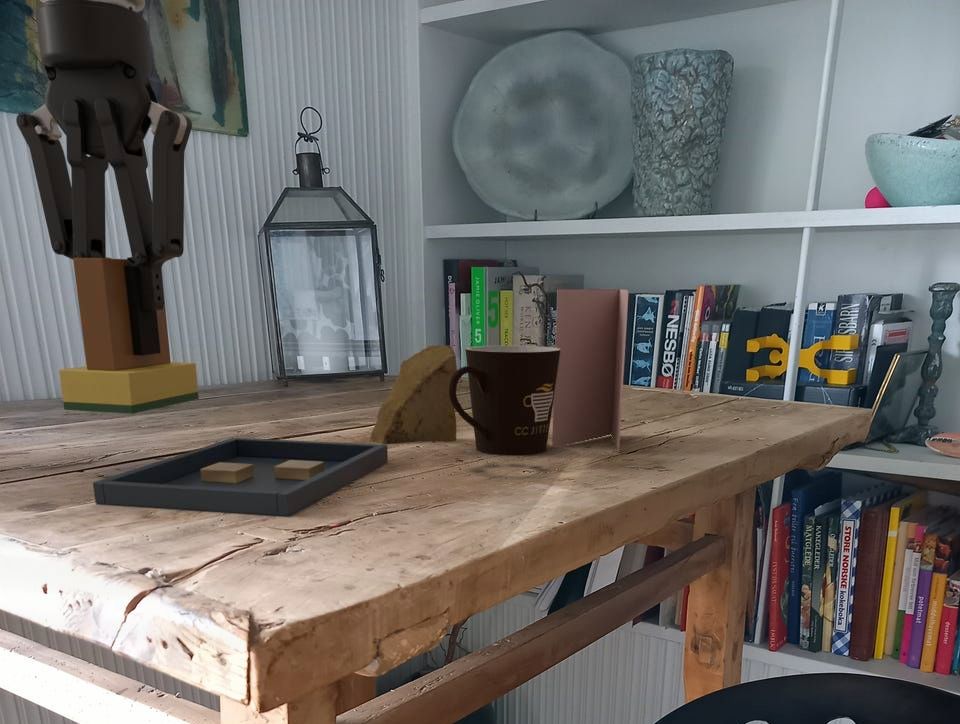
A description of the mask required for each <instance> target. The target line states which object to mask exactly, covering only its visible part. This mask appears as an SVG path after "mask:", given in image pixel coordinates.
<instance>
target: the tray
mask: <svg viewBox="0 0 960 724" xmlns="http://www.w3.org/2000/svg"><path fill="white" fill-rule="evenodd" d="M388 451H389V450H388V444H379V443H377V444H376V443H357V442H356V443H353V442H333V441H314V440H313V441H312V440H310V441H309V440H307V441H306V440H291V439H290V440H289V439H269V438H248V437H230V438H227V439H224V440H221V441H217V442H214V443H212V444H209V445H206V446H202V447H198V448H195V449H193V450H190V451H187V452H184V453H180V454H178V455H174V456H171V457H168V458H164V459H161V460H159V461H155V462H152V463H149V464H146V465H143V466H140V467H137V468H133V469H130V470H128V471H124V472H121V473H119V474H115V475H112V476H109V477H106V478H102V479H100V480H96V481H93V482H92V487H93V494H94V495H93V496H94V501H95V502H94V503H95V505H97V506H98V505H99V506H114V507H128V508H129V507H130V508H142V509H143V508H144V509H160V510H173V511H174V510H176V511H190V512H202V513H203V512H205V513H206V512H207V513H219V514H220V513H222V514H236V515H237V514H238V515H251V516H265V517H281V518H291V517H292V516H295V515H296V514H297V513H300V512H301V511H303V510H305V509H307V508H309V507H311V506H312V505H314V504H316V503H318V502H319V501H321V500H324V499H325V498H327V497H329V496H330V495H332V494H334V493H336V492H338V491H340V490H341V489H344V488H345V487H347V486H349V485H350V484H353V483H354V482H356V481H358V480H359V479H361V478H363V477H366V476H367V475H369V474H370V473H372V472H374V471H376V470H378V469H380V468H382V467H383V466H385V465H387V464H388V463H389V455H388V453H389V452H388ZM289 460H301V461H320V462H324V471H323V472H321V473H319V474H317V475H315V476H313V477H311V478H309V479H307V480H289V479H276V478H275V469H274V467H275V466H277V465H279V464H282V463H284V462H287V461H289ZM219 462H223V463H241V464H253V471H254V476H253V477H251V478H249V479H246V480H244V481H241V482H239V483H237V484H235V483H218V482H202V479H201V469H202V468H205V467H208V466H210V465H213V464H216V463H219Z"/></svg>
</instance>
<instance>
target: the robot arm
mask: <svg viewBox="0 0 960 724" xmlns="http://www.w3.org/2000/svg"><path fill="white" fill-rule="evenodd" d="M39 1H40V4H38V5H37V7H36V9H35V10H34V17H35V24H36V25H35V26H36V32H37V41H38V49H39V56H40V60H41V62H42V65H43V67H44V69H45V73H46V75H47V86H46V90H45V93H44V104H43V105H41V106H40V107H39V108H38V109H36V110H34V111H33V112H32V113H26V112H19V113H18V114H17V115H16V118H15V120H16V121H15V122H16V126H17V127H18V129H19V131H20V133H21V135H22V138H23V139H24V141H25V143H26V144H27V146H28V149H29V154H30V157H31V162H32V166H33V171H34V175H35V180H36V183H37V188H38V193H39V197H40V202H41V206H42V210H43V216H44V219H45V223H46V229H47V233H48V236H49V241H50V246H51V249H52V251H53V253H55V254H56V255H59V256H60V255H61V256H64V257H66V258H69V259H71V260H72V261H73V258H109V259H112V257H107V250H106V249H107V246H106V245H107V243H106V242H107V239H106V238H107V237H106V236H107V235H106V233H107V232H106V230H107V229H106V172H107V170H109V165H110V166H111V167H112V169H113V172H114V177H115V182H116V187H117V191H118V196H119V201H120V206H121V210H122V216H123V219H124V220H123V221H124V224H125V230H126V234H127V240H128V244H129V249H130V253H131V256H129V257H126V259H127V260H128V262H129V263H130V264H132V265H137V267H136V266H124V270H125V280H126V289H127V298H128V307H129V316H130V325H131V335H132V344H133V353H134V355H149V354H157V353H161V351H160V341H159V331H158V321H157V311H156V310H163V307H164V298H165V292H164V293H163V287H164V282H163V283H162V277H163V271H162V272H161V268H162V269H163V265H164V264H165V263H166V262H168V261H170V260H172V259H174V258H180V257H182V256H183V254H184V250H185V245H184V244H185V150H186V148H187V145H188V141H189V138H190V135H191V132H192V129H193V123H192V122H193V121H192V120H191V118H190V117H189V116H187V115H184V114H182V113H178V112H175V111H172V110H170V109H169V108H167V107H165V106H163V105H162V104H160V103H159V98H158V96H157V94H156V92H155V90H154V88H153V85H152V83H151V78H150V77H151V73H152V70H153V69H152V67H153V66H152V55H151V45H150V35H149V34H150V33H149V25H148V21H147V20H146V19H145V18H144V16H143V15H142V14H141V13H140V12H141V11H142V10H143V9H144V8H145V7H146V0H39ZM59 128H60V129H61V130H60V129H59ZM149 131H150V132H151V133H152V135H153V140H152V147H151V149H152V150H151V179H152V180H151V181H152V183H151V184H152V185H151V188H152V189H151V188H150V183H149V178H148V173H147V169H148V168H149V160H148V156H147V151H146V145H145V141H144V140H145V138H146V136H147V134H148V133H149ZM63 134H64V135H65V140H66V141H65V143H66V144H65V145H66V156H65V151H64V148H63V146H62V143H61V141H60V139H62V136H63ZM67 163H68V164H69V166H70V171H71V173H69V169H68V165H67ZM70 174H71V175H70ZM70 178H71V179H70ZM163 294H164V296H163Z"/></svg>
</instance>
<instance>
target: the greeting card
mask: <svg viewBox="0 0 960 724" xmlns="http://www.w3.org/2000/svg"><path fill="white" fill-rule="evenodd" d="M629 293H630V290H629V289H621V288H586V289H585V288H583V289H582V288H579V289H578V288H576V289H575V288H574V289H573V288H571V289H570V288H569V289H565V288H563V289H561V288H560V289H557V291H556V316H555V344H554V345H555V346H554V348H559V349H561V351H560V358H559V365H558V372H557V379H556V386H555V393H554V400H553V407H552V436H551V437H552V438H551V439H552V440H551V447H554V448H559V447H558V446H561V447H564V446H563V445H566V446H568V445H567V444H570V445H572V444H571V443H575V442H579V443H581V442H580V441H584V442H586V441H585V440H588V441H590V440H589V439H592V440H594V439H593V438H597V439H599V438H598V437H601V438H603V437H602V436H606V435H610V434H611V435H612V436H611V435H610V436H611V438H612V437H613V438H612V440H614V441H613V443H614V442H615V443H614V446H615V445H616V446H615V448H616V450H617V453H618V454H620V444H621V443H620V442H621V429H622V428H621V427H622V412H623V411H622V410H623V395H624V394H623V393H624V377H625V363H626V362H625V360H626V341H627V328H628V327H627V326H628V313H629V312H628V310H629V309H628V308H629V296H630V295H629ZM606 437H607V436H606ZM575 444H576V443H575Z"/></svg>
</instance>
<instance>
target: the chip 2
mask: <svg viewBox="0 0 960 724" xmlns="http://www.w3.org/2000/svg"><path fill="white" fill-rule="evenodd" d="M274 469H275V478H276V479H289V480H307V479H309V478H311V477H313V476H315V475H317V474H319V473H321V472H323V471H324V462H320V461H301V460H289V461H287V462H284V463H282V464H279V465H277V466H275V467H274Z"/></svg>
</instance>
